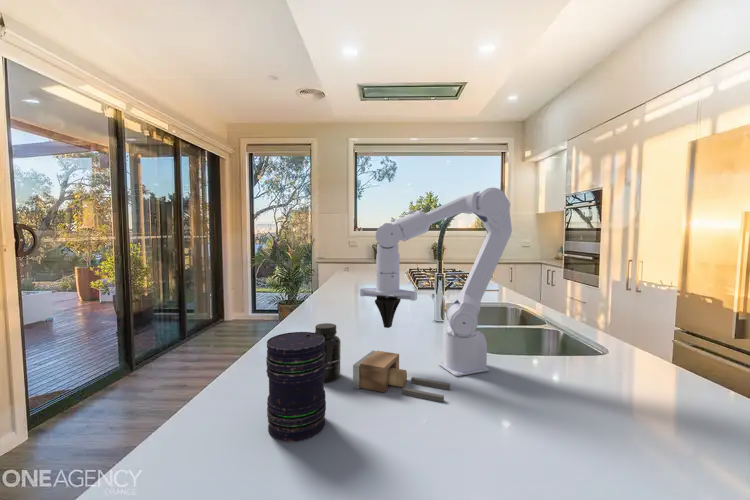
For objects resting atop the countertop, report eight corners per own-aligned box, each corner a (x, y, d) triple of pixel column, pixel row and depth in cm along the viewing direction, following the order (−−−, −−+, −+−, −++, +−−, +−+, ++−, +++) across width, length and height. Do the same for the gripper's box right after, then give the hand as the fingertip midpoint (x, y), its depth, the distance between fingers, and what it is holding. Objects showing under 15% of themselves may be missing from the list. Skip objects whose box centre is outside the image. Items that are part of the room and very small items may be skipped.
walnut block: (399, 376, 79) (399, 353, 78) (384, 392, 70) (384, 367, 70) (377, 372, 81) (377, 350, 81) (360, 387, 73) (360, 363, 72)
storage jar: (297, 450, 52) (296, 353, 51) (254, 430, 57) (253, 342, 56) (337, 420, 60) (337, 336, 60) (297, 405, 65) (296, 328, 65)
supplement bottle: (335, 384, 75) (335, 330, 74) (306, 381, 76) (305, 328, 75) (344, 372, 81) (344, 322, 81) (317, 369, 83) (316, 321, 82)
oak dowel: (406, 386, 75) (407, 369, 76) (401, 388, 72) (402, 370, 72) (376, 380, 78) (378, 364, 78) (371, 383, 74) (372, 366, 75)
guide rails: (449, 388, 73) (449, 383, 73) (442, 402, 66) (442, 397, 66) (412, 381, 76) (412, 376, 76) (402, 394, 70) (402, 389, 70)
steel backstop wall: (378, 371, 81) (378, 351, 81) (359, 389, 72) (359, 366, 72) (372, 370, 82) (372, 350, 82) (353, 387, 73) (352, 365, 73)
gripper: (420, 272, 85) (420, 325, 85) (368, 269, 91) (368, 320, 91) (412, 275, 78) (411, 333, 79) (356, 272, 84) (356, 326, 85)
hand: (387, 326), depth 85 cm, fingers closed
